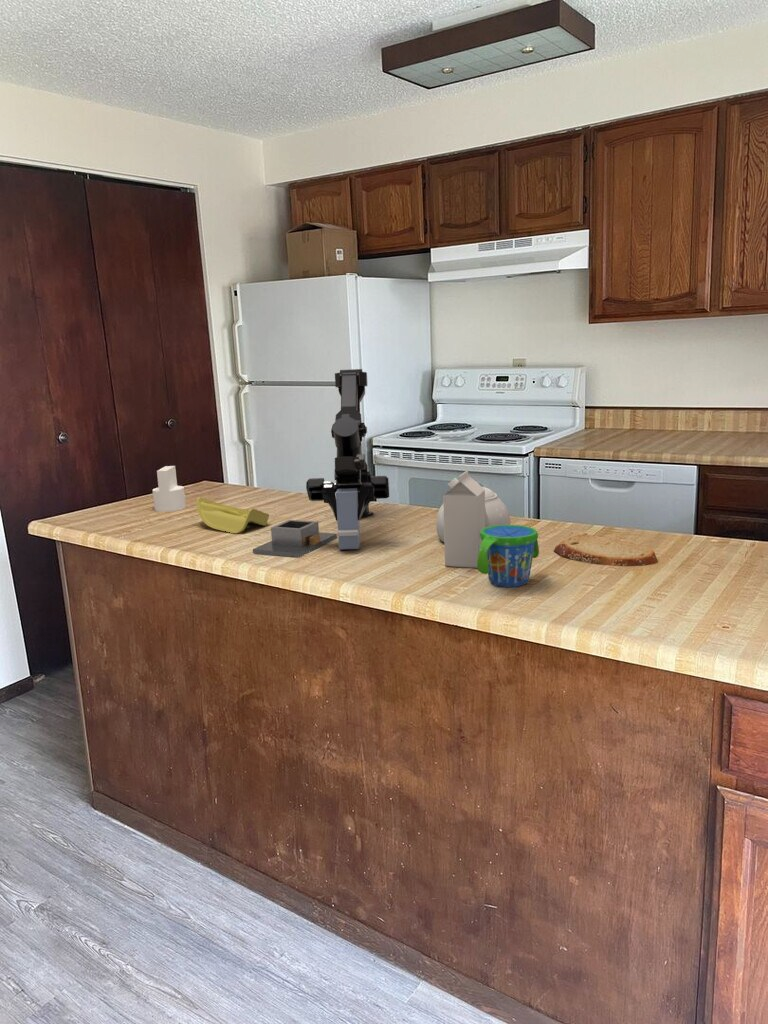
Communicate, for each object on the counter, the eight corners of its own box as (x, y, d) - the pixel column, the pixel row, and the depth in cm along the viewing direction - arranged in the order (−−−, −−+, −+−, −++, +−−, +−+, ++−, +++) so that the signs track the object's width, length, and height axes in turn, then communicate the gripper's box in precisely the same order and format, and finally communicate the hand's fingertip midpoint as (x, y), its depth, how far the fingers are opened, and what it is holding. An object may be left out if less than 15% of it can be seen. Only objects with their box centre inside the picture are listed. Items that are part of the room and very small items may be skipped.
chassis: (294, 534, 192) (292, 514, 191) (336, 537, 187) (335, 517, 186) (252, 553, 176) (251, 532, 175) (298, 557, 171) (297, 535, 170)
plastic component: (273, 516, 203) (248, 506, 195) (265, 543, 202) (240, 535, 194) (219, 504, 214) (193, 494, 206) (211, 530, 213) (185, 521, 205)
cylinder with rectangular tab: (181, 511, 226) (177, 470, 223) (150, 512, 226) (146, 471, 223) (189, 504, 234) (185, 465, 232) (159, 505, 235) (155, 466, 232)
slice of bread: (664, 565, 155) (665, 547, 155) (578, 572, 153) (578, 554, 152) (626, 543, 173) (626, 526, 172) (547, 549, 171) (547, 532, 170)
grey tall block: (341, 541, 181) (338, 487, 178) (360, 541, 181) (357, 486, 178) (338, 552, 172) (334, 494, 170) (358, 551, 172) (355, 494, 169)
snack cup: (518, 568, 156) (518, 519, 154) (558, 580, 148) (558, 528, 146) (459, 584, 148) (458, 532, 145) (498, 598, 139) (497, 543, 137)
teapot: (529, 536, 181) (529, 478, 178) (482, 553, 168) (481, 492, 165) (465, 525, 194) (464, 471, 191) (417, 541, 181) (415, 484, 178)
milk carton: (486, 559, 164) (484, 470, 160) (478, 568, 157) (477, 476, 153) (453, 557, 166) (451, 469, 162) (444, 566, 160) (442, 475, 155)
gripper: (304, 443, 176) (301, 501, 167) (386, 440, 175) (387, 498, 167) (310, 472, 185) (308, 528, 177) (388, 469, 184) (389, 525, 176)
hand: (347, 519), depth 174 cm, fingers closed on grey tall block, 4 cm apart
